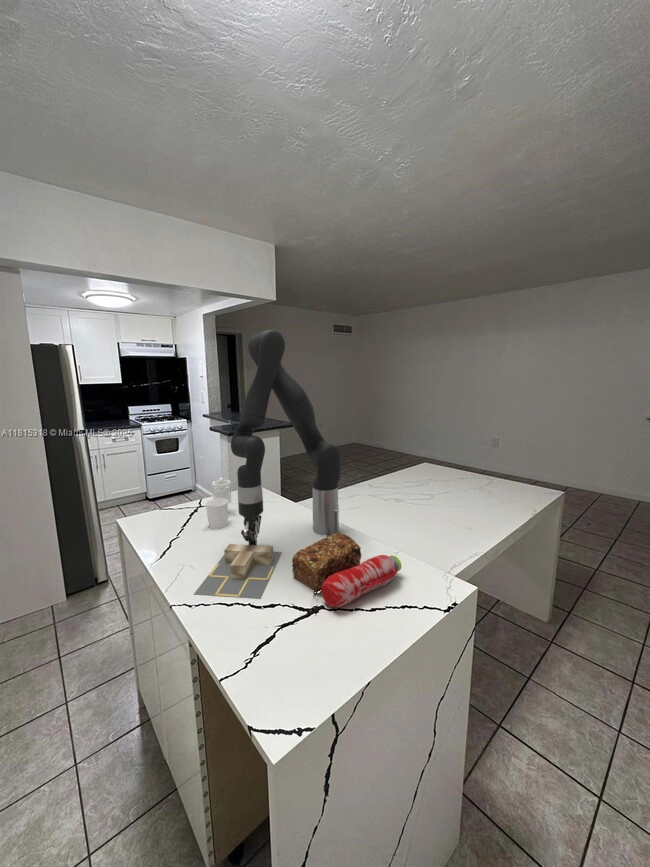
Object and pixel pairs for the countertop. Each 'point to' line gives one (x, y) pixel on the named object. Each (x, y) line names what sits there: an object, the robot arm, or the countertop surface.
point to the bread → (324, 559)
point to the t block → (246, 558)
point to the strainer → (222, 490)
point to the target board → (238, 580)
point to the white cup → (217, 513)
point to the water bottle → (359, 579)
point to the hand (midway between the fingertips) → (253, 549)
